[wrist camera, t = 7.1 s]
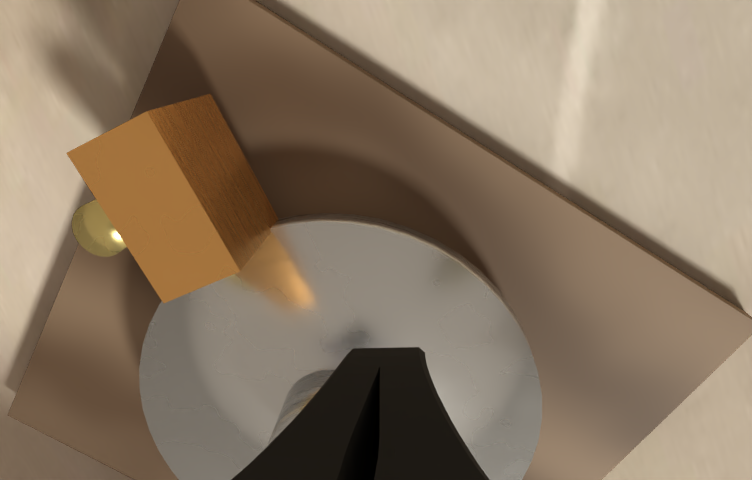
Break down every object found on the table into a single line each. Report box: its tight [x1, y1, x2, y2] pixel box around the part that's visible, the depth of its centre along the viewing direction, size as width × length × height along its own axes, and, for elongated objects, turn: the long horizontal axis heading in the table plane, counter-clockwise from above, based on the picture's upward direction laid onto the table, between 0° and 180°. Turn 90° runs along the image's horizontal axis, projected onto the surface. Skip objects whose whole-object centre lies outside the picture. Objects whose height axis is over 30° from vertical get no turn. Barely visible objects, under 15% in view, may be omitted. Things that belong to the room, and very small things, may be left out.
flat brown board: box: [8, 0, 752, 480], centre depth 21 cm, size 20×22×2 cm
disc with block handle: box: [67, 94, 542, 480], centre depth 17 cm, size 18×14×4 cm
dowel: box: [72, 199, 127, 257], centre depth 17 cm, size 2×2×4 cm
